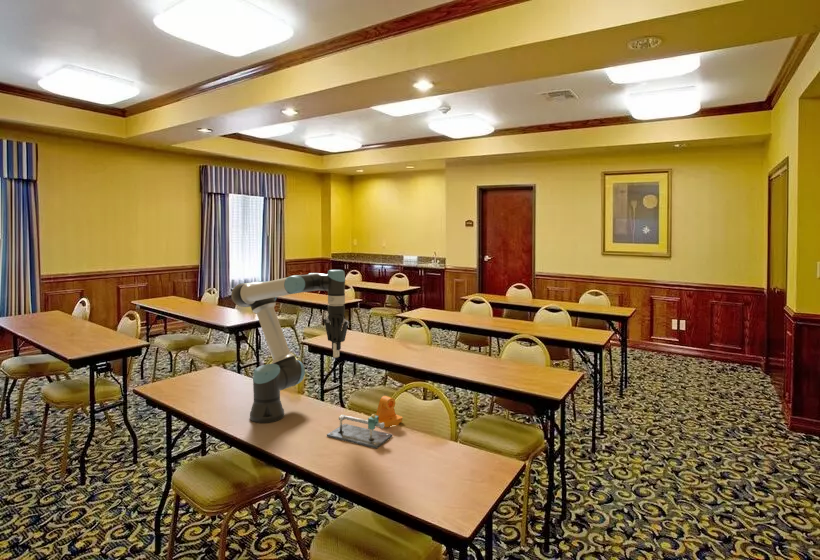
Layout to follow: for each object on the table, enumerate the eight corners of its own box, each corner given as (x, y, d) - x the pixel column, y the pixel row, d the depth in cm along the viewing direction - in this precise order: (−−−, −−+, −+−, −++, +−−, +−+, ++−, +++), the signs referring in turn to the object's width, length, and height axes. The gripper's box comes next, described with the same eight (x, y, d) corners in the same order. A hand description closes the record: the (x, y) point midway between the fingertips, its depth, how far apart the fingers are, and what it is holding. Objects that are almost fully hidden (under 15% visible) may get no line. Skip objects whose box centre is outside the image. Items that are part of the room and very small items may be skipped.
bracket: (385, 429, 207) (385, 402, 206) (374, 424, 212) (374, 398, 211) (403, 423, 214) (403, 397, 213) (392, 418, 219) (392, 393, 218)
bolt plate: (326, 436, 198) (326, 433, 198) (344, 425, 210) (344, 423, 210) (376, 448, 188) (376, 445, 188) (392, 436, 199) (392, 433, 199)
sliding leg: (367, 438, 194) (367, 416, 193) (373, 434, 198) (373, 412, 197) (372, 439, 193) (373, 417, 192) (378, 435, 197) (378, 413, 196)
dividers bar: (337, 432, 201) (337, 416, 200) (342, 429, 204) (342, 413, 203) (380, 442, 191) (380, 425, 191) (384, 439, 194) (384, 422, 194)
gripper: (319, 304, 211) (319, 356, 213) (343, 306, 205) (343, 360, 207) (329, 302, 218) (329, 353, 220) (353, 304, 212) (353, 356, 214)
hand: (336, 356), depth 213 cm, fingers closed
